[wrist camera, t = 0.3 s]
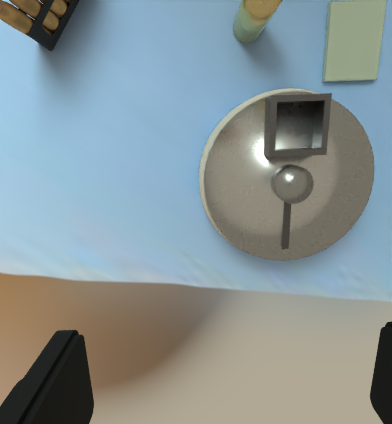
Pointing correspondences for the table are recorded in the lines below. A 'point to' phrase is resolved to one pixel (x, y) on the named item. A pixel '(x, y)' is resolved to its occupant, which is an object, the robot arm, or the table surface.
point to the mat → (353, 40)
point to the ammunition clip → (39, 18)
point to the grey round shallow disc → (288, 175)
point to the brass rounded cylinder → (253, 18)
